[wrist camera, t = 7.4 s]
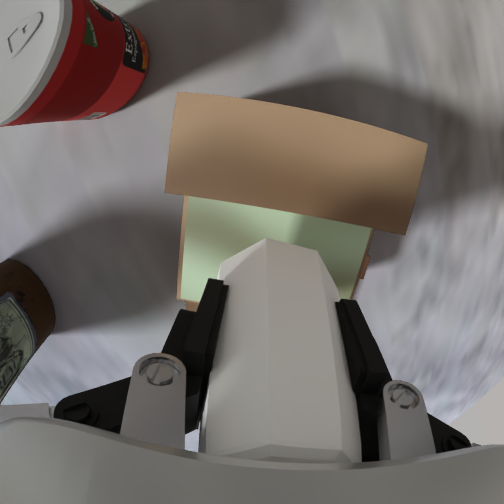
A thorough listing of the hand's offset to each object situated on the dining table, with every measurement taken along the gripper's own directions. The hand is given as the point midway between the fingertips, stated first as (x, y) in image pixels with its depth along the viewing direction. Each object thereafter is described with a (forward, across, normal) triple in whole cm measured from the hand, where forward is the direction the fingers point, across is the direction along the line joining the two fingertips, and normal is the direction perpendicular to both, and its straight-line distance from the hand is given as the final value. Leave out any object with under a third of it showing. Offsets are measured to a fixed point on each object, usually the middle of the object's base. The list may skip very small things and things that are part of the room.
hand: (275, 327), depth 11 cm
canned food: (+12, +14, -10) cm, 21 cm away
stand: (+12, 0, 0) cm, 12 cm away
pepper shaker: (+2, 0, 0) cm, 2 cm away
